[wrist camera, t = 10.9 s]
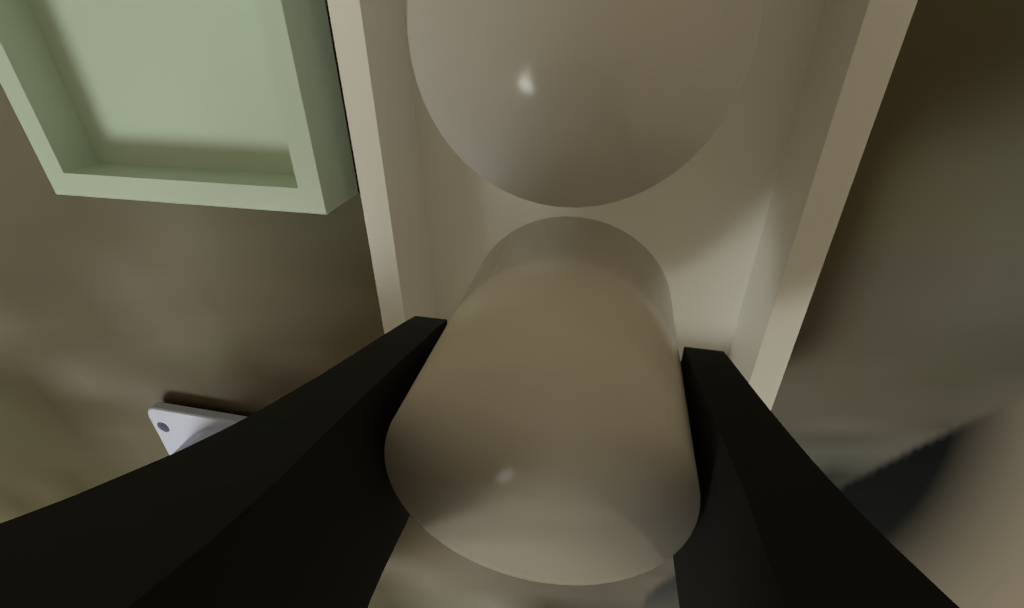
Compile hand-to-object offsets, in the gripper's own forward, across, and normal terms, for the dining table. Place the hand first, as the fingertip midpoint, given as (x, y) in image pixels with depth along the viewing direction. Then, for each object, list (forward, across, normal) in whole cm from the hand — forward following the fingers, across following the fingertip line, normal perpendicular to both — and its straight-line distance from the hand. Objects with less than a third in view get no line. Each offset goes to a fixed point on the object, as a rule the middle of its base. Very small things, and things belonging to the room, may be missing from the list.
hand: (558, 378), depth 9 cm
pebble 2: (+2, 0, 0) cm, 2 cm away
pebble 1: (+4, 0, -5) cm, 7 cm away
